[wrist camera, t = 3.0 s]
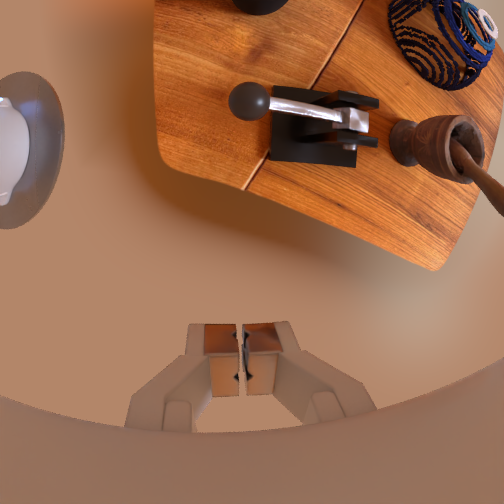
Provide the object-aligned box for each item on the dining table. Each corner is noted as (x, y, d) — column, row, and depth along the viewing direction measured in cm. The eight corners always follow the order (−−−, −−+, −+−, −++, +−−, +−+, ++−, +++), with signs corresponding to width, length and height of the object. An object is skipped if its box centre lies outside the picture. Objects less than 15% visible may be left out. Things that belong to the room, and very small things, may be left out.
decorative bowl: (476, 55, 30) (526, 48, 17) (449, 111, 35) (511, 112, 21) (411, -19, 24) (456, -44, 11) (370, 25, 29) (425, -8, 15)
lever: (221, 121, 20) (238, 117, 18) (223, 84, 19) (239, 75, 17) (348, 137, 26) (371, 138, 24) (349, 108, 25) (372, 107, 23)
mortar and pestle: (441, 161, 38) (534, 182, 19) (415, 195, 39) (511, 231, 21) (405, 107, 34) (507, 101, 15) (375, 141, 36) (481, 149, 17)
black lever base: (268, 160, 35) (295, 165, 23) (271, 87, 32) (298, 58, 20) (351, 167, 37) (405, 178, 25) (354, 99, 33) (408, 86, 21)
